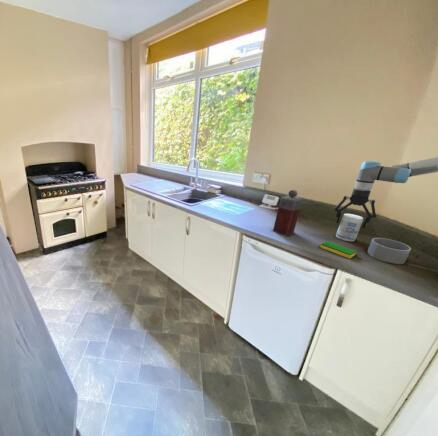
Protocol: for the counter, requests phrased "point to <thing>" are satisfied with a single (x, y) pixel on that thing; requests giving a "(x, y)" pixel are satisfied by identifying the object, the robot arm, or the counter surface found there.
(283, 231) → the glass decanter
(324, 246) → the dish sponge
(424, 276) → the counter surface
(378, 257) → the gray round bowl
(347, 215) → the supplement tub
